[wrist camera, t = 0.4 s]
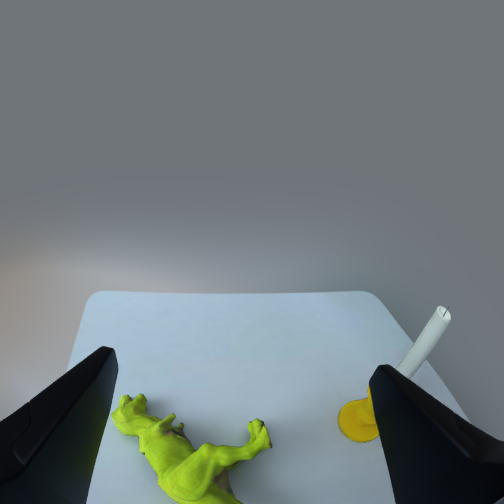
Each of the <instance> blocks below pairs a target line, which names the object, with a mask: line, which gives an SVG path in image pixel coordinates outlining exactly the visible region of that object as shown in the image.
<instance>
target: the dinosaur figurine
mask: <svg viewBox="0 0 504 504" xmlns="http://www.w3.org/2000/svg"><path fill="white" fill-rule="evenodd" d="M146 402H147V399H146V397H145V396H144V395H143V394H139V395H138V396H137V397H136V398H135V399H134V400H133V399H131V398H130V396H129V395H123V396H122V397H121V399H120V402H119V407H118V408H117V409H116V410H115V411H114V412H113V413H112V414H111V417H112V419H113V421H114V423H115V424H116V426H117V428H118V429H119V431H120V432H121V433H123V434H125V435H127V436H139V446H140V452H141V453H142V454H144V455H145V456H146V458H147V459H148V462H149V464H150V466H151V467H152V468H153V469H154V470H155V472H156V474H157V476H158V482H157V483H158V485H159V486H160V487H161V488H162V489H163V490H164V491H165V492H166V493H167V494H168V496H169V497H170V498H172V499H173V500H174V501H176V502H177V503H179V504H243V503H242V502H240V501H239V500H237V499H236V498H235V496H234V494H233V492H232V490H231V487H230V484H229V479H228V473H227V470H230V469H233V468H235V467H237V466H238V465H239V463H240V462H241V461H242V460H244V459H245V460H251V459H253V458H254V457H255V456H256V455H257V454H258V453H259V452H261V451H263V450H265V449H267V448H272V444H271V441H270V437H269V434H268V430H267V428H266V427H265V424H264V422H263V421H261V420H259V419H257V418H256V419H255V420H253V422H251V421H250V422H249V423H248V430H249V431H250V433H251V438H250V440H249V441H248V443H247V444H246V445H244V446H243V447H231V446H226V445H221V446H215V445H213V444H210V443H205V444H203V445H202V446H201V447H200V448H199V449H198V450H197V451H196V450H195V449H194V448H193V446H192V444H191V442H190V441H189V440H188V438H187V437H186V436H185V434H184V433H183V427H184V424H183V423H180V424H179V425H178V427H177V428H175V427H172V426H171V425H170V424H171V423H172V422H173V420H174V419H175V418H176V415H175V414H171V415H169V416H168V417H167V418H165V419H164V420H161V419H159V418H157V417H154V416H149V415H146V412H147V408H146Z"/></svg>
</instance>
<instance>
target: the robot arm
mask: <svg viewBox="0 0 504 504" xmlns="http://www.w3.org/2000/svg"><path fill="white" fill-rule="evenodd" d="M117 374H118V362H117V358H116V354H115V350H114V349H113V348H110V347H105V346H102V347H100V348H99V349H97V350H96V351H95V352H93V353H92V354H91V355H89V356H88V357H87V358H85V359H84V360H83V361H81V362H80V363H79V364H77V365H76V366H75V367H73V368H72V369H71V370H69V371H68V372H67V373H65V374H64V375H63V376H61V377H60V378H59V379H57V380H56V381H55V382H53V383H52V384H51V385H50V386H49V387H47V388H46V389H44V390H43V391H42V392H41V393H39V394H38V395H37V396H35V397H34V398H33V399H31V400H30V402H27V403H26V404H25V405H23V406H22V407H21V408H19V409H18V410H17V411H15V412H14V413H13V414H11V415H10V416H8V417H7V418H5V419H3V420H2V421H0V504H86V501H87V496H88V491H89V487H90V482H91V478H92V474H93V470H94V466H95V462H96V458H97V454H98V451H99V447H100V443H101V440H102V436H103V433H104V429H105V426H106V423H107V420H108V416H109V413H110V409H111V404H112V399H113V393H114V388H115V384H116V379H117ZM369 389H370V394H371V399H372V405H373V410H374V416H375V421H376V424H377V428H378V432H379V435H380V439H381V443H382V447H383V450H384V454H385V458H386V462H387V466H388V471H389V475H390V479H391V484H392V488H393V493H394V498H395V502H396V504H504V442H503V441H500V440H497V439H495V438H494V437H492V436H490V435H488V434H486V433H485V432H483V431H482V430H480V429H478V428H477V427H475V426H473V425H472V424H470V423H469V422H467V421H466V420H464V419H463V418H461V417H460V416H459V415H457V414H456V413H454V412H453V411H452V410H450V409H449V408H448V407H446V406H445V405H444V404H442V403H441V402H439V401H438V400H437V399H435V398H434V397H433V396H431V395H430V394H428V393H427V392H426V391H424V390H423V389H422V388H420V387H419V386H418V385H416V384H415V383H414V382H412V381H411V380H409V379H408V378H407V377H405V376H404V375H403V374H401V373H400V372H399V371H397V370H396V369H395V368H393V367H392V366H390V365H388V364H386V365H379V366H378V367H377V369H376V370H375V372H374V374H373V375H372V377H371V378H370V381H369Z"/></svg>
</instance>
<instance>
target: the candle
mask: <svg viewBox="0 0 504 504" xmlns="http://www.w3.org/2000/svg"><path fill="white" fill-rule="evenodd" d="M448 308H449V307H448ZM448 308H447V309H445V308H444V307H442V306H438V307H437V310H436V311H435V313H434V314H433V316H432V317H431V319H430V320H429V322H428V323H427V325H426V326H425V328H424V329H423V331H422V333H421V334H420V335H419V337H418V339H417V340H416V341H415V343H414V344H413V346H412V347H411V349H410V350H409V351H408V353H407V354H406V356H405V357H404V358H403V360H402V361H401V363H400V364H399V365H398V367H397V368H396V370H397V371H399V372H400V373H401V374H403V375H404V376H405V377H407V378H408V379H409V380H410V379H411V377H412V376H413V375H414V374H415V372H416V371H417V370H418V369H419V367H420V366H421V365H422V363H423V362H424V361H425V359H426V358H427V356H428V355H429V354H430V352H431V351H432V350H433V348H434V347H435V345H436V344H437V342H438V341H439V339H440V338H441V336H442V335H443V333H444V331H445V330H446V328H447V326H448V324H449V323H450V321H451V316H450V313H449V312H448ZM367 393H368V397H369V398H365V399H362V400H355V401H351V402H349V403H347V404H346V405H345V406H344V407H343V408H342V409H341V411H340V413H339V416H338V423H339V427H340V429H341V431H342V432H343V434H344V435H345V436H347V437H348V438H349V439H351V440H353V441H356V442H369V441H371V440H373V439H375V438H376V437H377V436H378V435H379V432H378V428H377V424H376V421H375V416H374V410H373V405H372V399H371V394H370V389H369V386H368V389H367Z"/></svg>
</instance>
